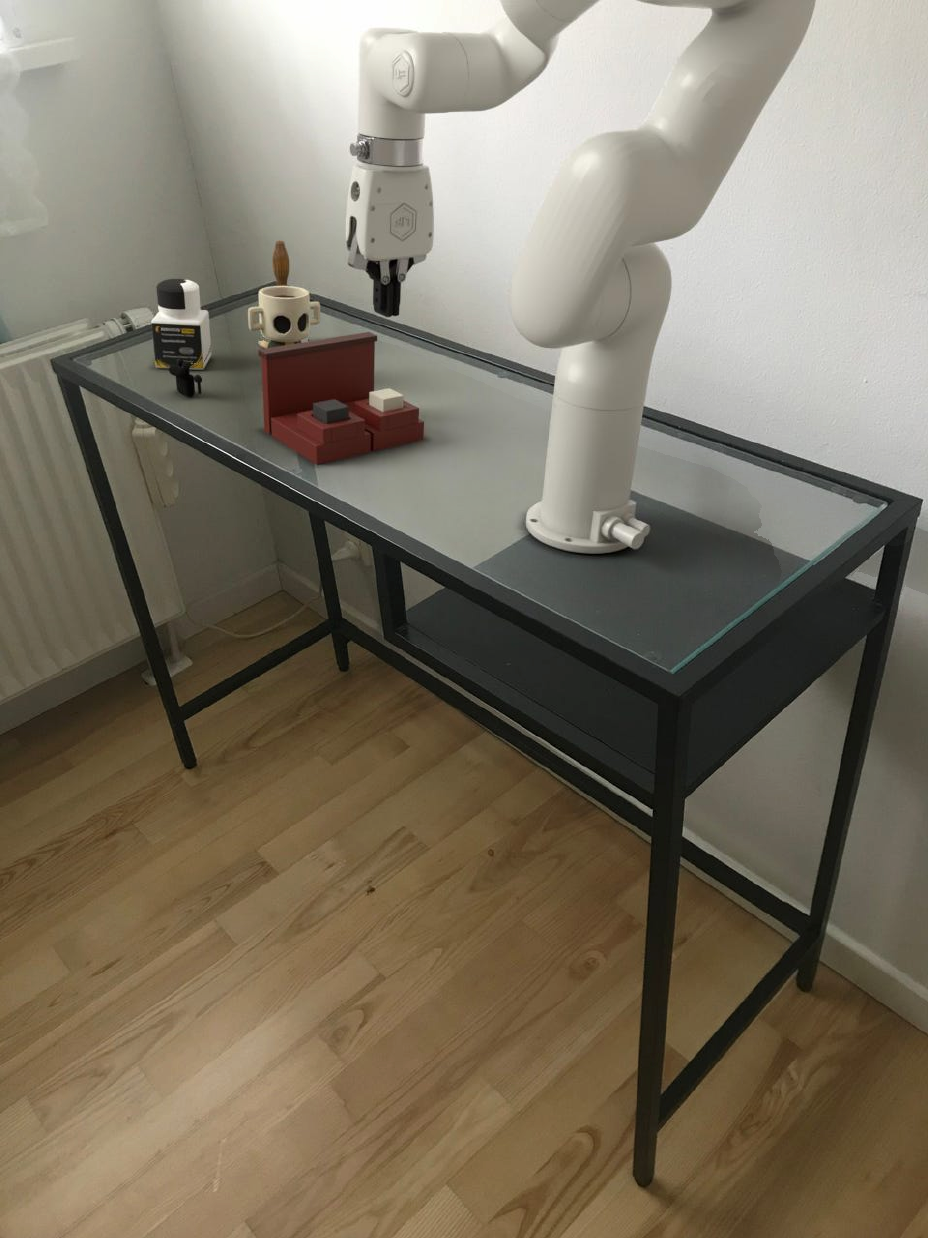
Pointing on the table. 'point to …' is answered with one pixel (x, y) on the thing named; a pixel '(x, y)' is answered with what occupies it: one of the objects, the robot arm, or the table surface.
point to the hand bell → (279, 270)
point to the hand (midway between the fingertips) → (386, 313)
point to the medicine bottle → (180, 325)
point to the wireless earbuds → (185, 378)
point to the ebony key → (330, 411)
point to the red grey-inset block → (322, 436)
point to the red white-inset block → (389, 424)
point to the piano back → (316, 374)
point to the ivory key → (386, 400)
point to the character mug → (284, 315)
